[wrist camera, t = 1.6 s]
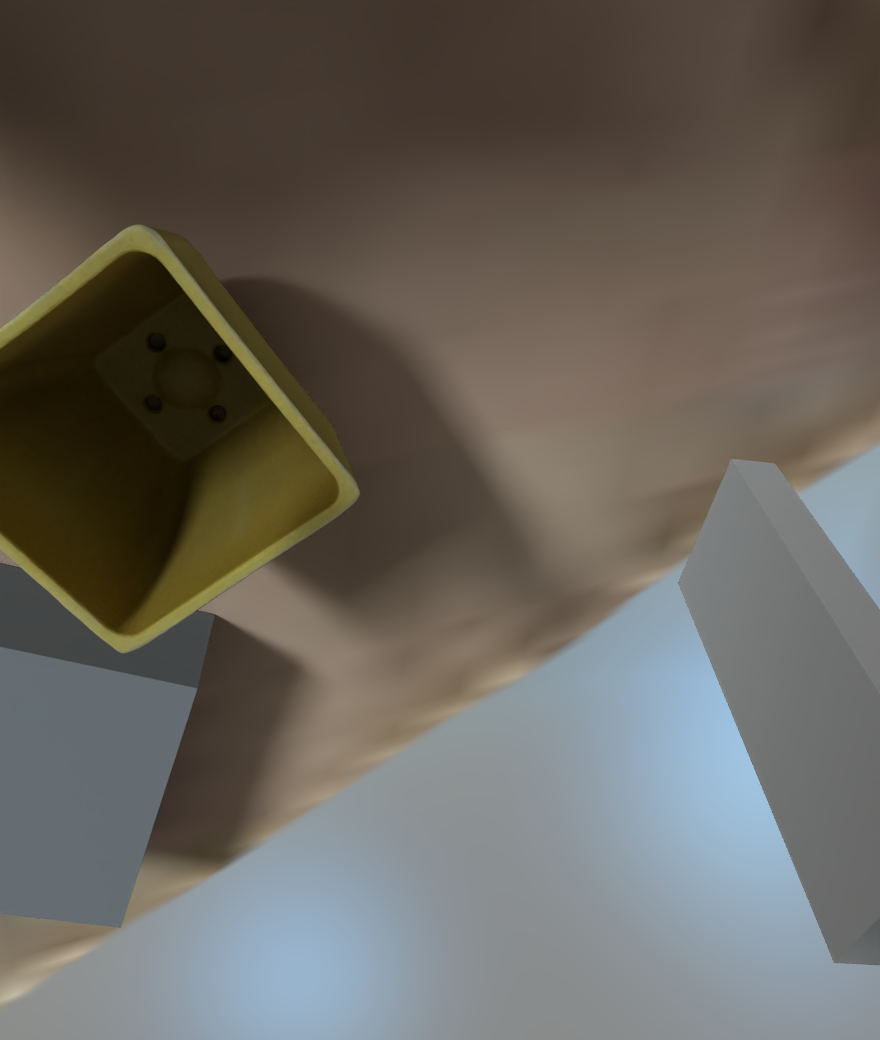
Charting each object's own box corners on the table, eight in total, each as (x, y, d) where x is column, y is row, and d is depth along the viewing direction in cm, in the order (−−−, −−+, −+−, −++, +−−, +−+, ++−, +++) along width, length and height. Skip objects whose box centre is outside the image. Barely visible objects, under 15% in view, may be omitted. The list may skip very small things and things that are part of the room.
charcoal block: (-162, 786, 32) (-239, 885, 28) (-133, 531, 28) (-220, 600, 23) (145, 833, 36) (120, 927, 31) (215, 615, 31) (197, 688, 27)
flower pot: (175, 530, 29) (121, 664, 21) (2, 351, 26) (-143, 431, 18) (354, 406, 28) (368, 498, 20) (200, 200, 25) (143, 213, 17)
